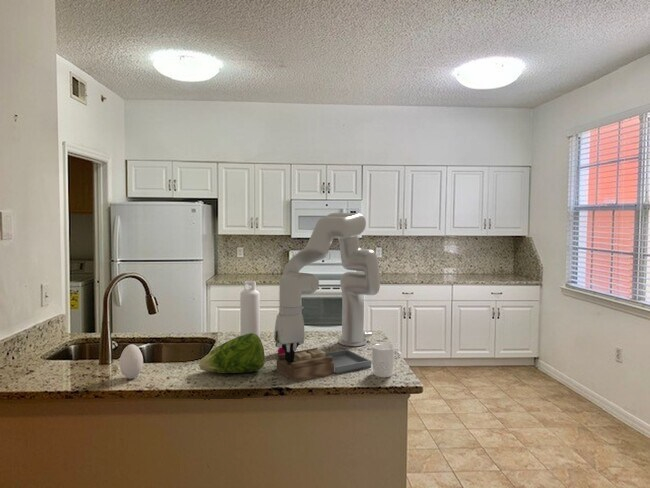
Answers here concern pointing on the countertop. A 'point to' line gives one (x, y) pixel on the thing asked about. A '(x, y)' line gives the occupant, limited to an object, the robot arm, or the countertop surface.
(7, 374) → the countertop surface
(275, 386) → the countertop surface
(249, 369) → the lettuce
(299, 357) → the chip
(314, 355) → the chip
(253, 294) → the bottle
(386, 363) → the white cup
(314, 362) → the brown wooden box
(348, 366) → the tray
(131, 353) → the egg
